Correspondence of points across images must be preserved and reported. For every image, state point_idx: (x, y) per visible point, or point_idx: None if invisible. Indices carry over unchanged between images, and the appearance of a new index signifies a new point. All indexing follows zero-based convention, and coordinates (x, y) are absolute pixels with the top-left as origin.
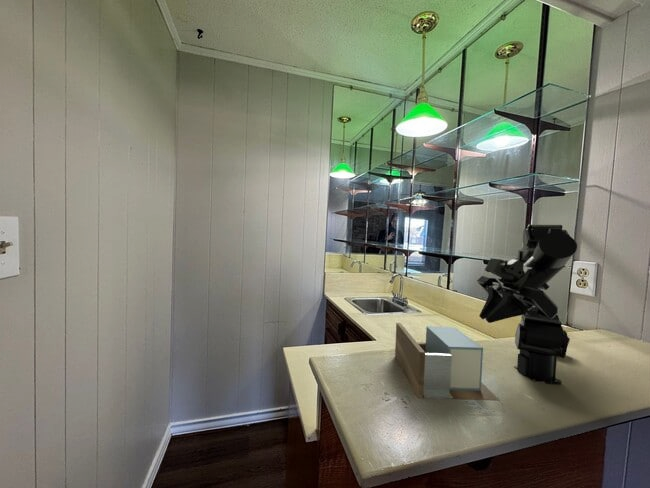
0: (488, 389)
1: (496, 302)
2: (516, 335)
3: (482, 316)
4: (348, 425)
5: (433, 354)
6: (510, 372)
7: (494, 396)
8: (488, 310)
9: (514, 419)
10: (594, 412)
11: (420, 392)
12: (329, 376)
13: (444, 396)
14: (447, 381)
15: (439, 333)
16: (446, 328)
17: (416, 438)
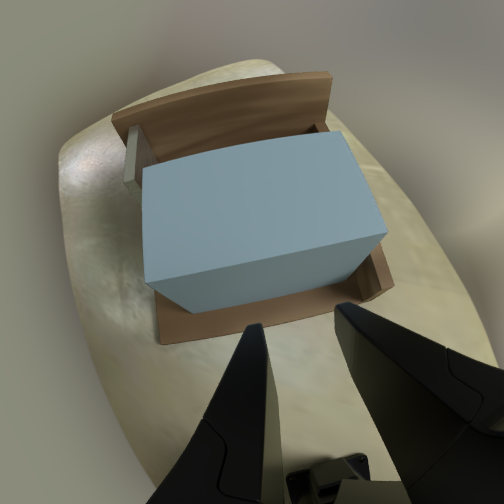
0: (203, 336)
1: (441, 462)
2: (400, 495)
3: (339, 323)
4: (108, 118)
5: (129, 143)
6: (340, 439)
7: (174, 338)
8: (374, 372)
9: (116, 346)
10: None
11: None
12: (209, 77)
13: None
14: None
15: (268, 154)
16: (348, 192)
17: (81, 180)
